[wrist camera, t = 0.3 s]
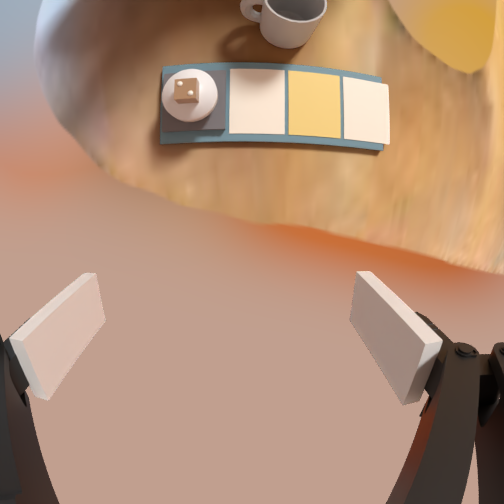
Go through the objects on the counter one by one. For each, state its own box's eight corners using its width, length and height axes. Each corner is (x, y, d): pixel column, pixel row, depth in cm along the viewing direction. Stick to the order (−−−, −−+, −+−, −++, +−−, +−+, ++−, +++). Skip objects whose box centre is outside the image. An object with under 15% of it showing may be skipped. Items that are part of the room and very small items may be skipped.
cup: (306, 55, 33) (323, 30, 25) (234, 40, 32) (233, 11, 24) (313, 16, 31) (330, -13, 23) (245, 2, 30) (246, -31, 22)
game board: (164, 68, 33) (161, 64, 31) (384, 80, 34) (390, 77, 32) (161, 144, 36) (157, 143, 34) (386, 151, 37) (392, 151, 36)
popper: (167, 75, 31) (157, 65, 26) (218, 72, 31) (215, 60, 27) (165, 123, 32) (155, 118, 28) (217, 121, 33) (214, 114, 28)
